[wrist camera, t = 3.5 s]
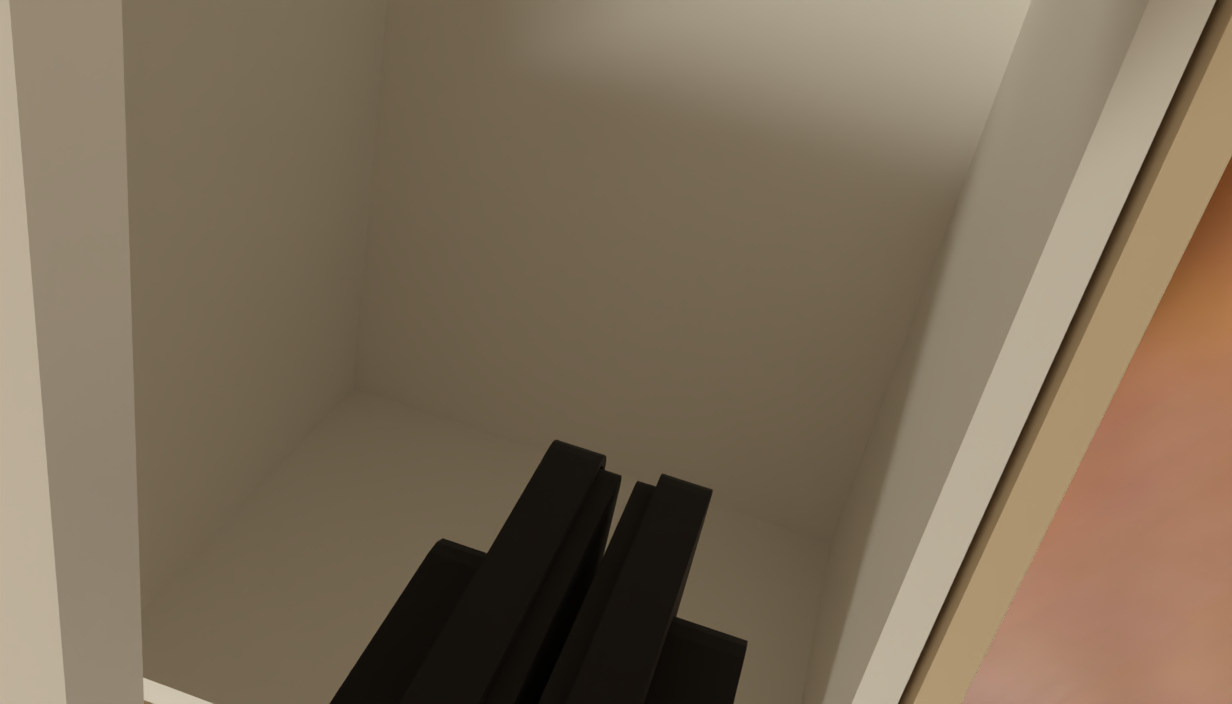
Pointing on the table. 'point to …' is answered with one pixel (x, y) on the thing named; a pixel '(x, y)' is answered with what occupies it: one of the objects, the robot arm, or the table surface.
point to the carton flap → (66, 361)
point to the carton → (641, 303)
